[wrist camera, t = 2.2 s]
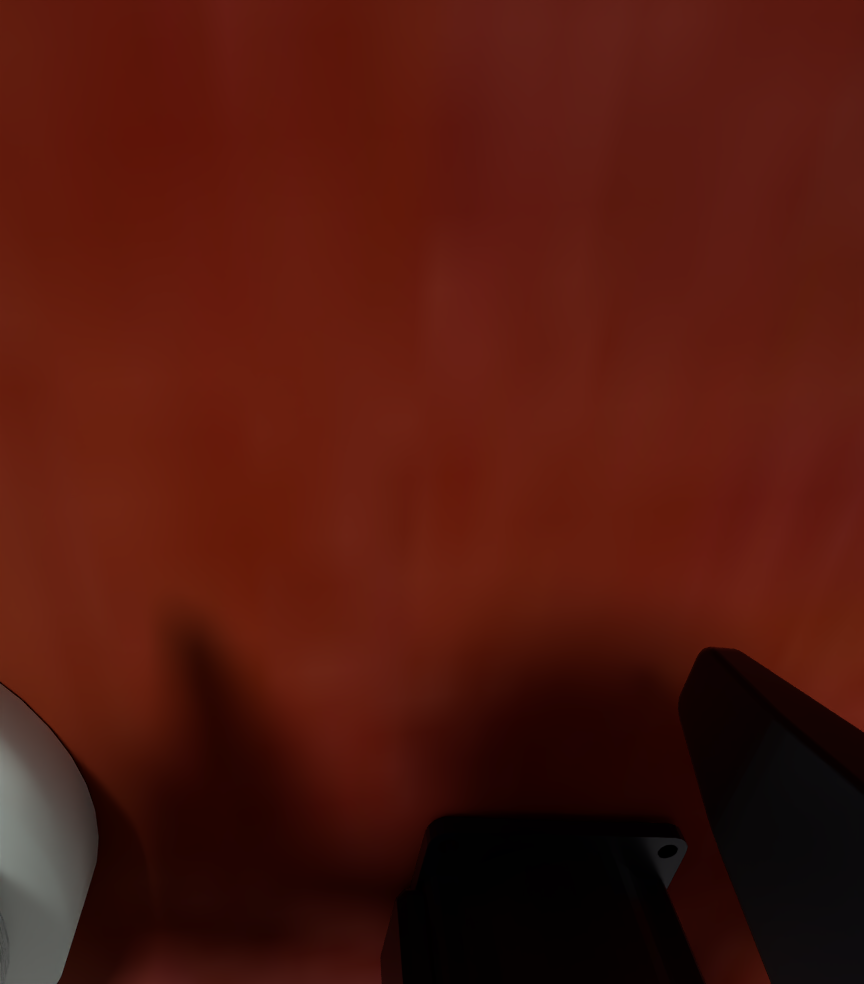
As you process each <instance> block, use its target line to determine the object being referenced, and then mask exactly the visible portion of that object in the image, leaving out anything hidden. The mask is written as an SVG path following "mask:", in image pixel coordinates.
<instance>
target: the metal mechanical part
mask: <svg viewBox="0 0 864 984" xmlns="http://www.w3.org/2000/svg"><path fill="white" fill-rule="evenodd" d="M8 968H9V938H8V934H7V930H6V926H5V922H4V918H3V916H2V914H1V912H0V984H5V980H6V976H7V972H8Z"/></svg>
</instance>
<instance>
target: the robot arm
mask: <svg viewBox="0 0 864 984" xmlns="http://www.w3.org/2000/svg"><path fill="white" fill-rule="evenodd" d="M678 712H679V718H680V722H681V725H682V729H683V732H684V736H685V739H686V743H687V746H688V750H689V753H690V757H691V761H692V764H693V768H694V771H695V775H696V778H697V782H698V785H699V789H700V792H701V796H702V799H703V803H704V806H705V810H706V813H707V817H708V820H709V823H710V826H711V829H712V832H713V835H714V838H715V841H716V843H717V846H718V849H719V852H720V854H721V857H722V859H723V862H724V864H725V867H726V869H727V872H728V875H729V877H730V880H731V882H732V885H733V887H734V890H735V892H736V895H737V897H738V900H739V903H740V905H741V908H742V910H743V913H744V915H745V918H746V920H747V923H748V926H749V928H750V931H751V933H752V936H753V938H754V941H755V943H756V946H757V948H758V951H759V954H760V956H761V959H762V961H763V964H764V966H765V969H766V971H767V974H768V976H769V979H770V982H771V984H864V732H862V731H861V730H859V729H858V728H856V727H855V726H853V725H852V724H850V723H849V722H847V721H846V720H844V719H843V718H841V717H840V716H838V715H837V714H835V713H833V712H832V711H830V710H829V709H827V708H826V707H824V706H823V705H821V704H820V703H818V702H817V701H815V700H814V699H812V698H811V697H809V696H808V695H806V694H805V693H803V692H802V691H800V690H799V689H797V688H796V687H794V686H793V685H791V684H790V683H788V682H787V681H785V680H783V679H782V678H780V677H779V676H777V675H776V674H774V673H773V672H771V671H770V670H768V669H767V668H765V667H764V666H762V665H761V664H759V663H758V662H756V661H755V660H753V659H752V658H750V657H749V656H747V655H746V654H744V653H743V652H741V651H739V650H736V649H730V648H717V647H708V648H705V649H703V650H702V651H701V652H700V653H699V655H698V656H697V658H696V661H695V663H694V665H693V667H692V670H691V672H690V674H689V676H688V678H687V681H686V683H685V685H684V687H683V690H682V692H681V694H680V697H679V702H678ZM687 847H688V846H687V844H686V842H685V839H684V837H683V835H682V833H681V831H680V829H679V827H677V826H676V825H673V824H667V823H634V822H601V821H567V820H534V819H501V818H468V817H446V818H441V819H438V820H435V821H434V822H432V823H431V824H430V825H429V826H428V827H427V829H426V831H425V835H424V838H423V842H422V846H421V849H420V853H419V856H418V860H417V864H416V867H415V871H414V874H413V878H412V882H411V885H410V889H404V890H403V891H402V893H401V894H400V895H399V896H398V897H397V898H396V900H395V904H394V908H393V912H392V915H391V919H390V923H389V927H388V930H387V934H386V938H385V942H384V946H383V949H382V953H381V977H382V984H706V983H705V981H704V978H703V976H702V973H701V971H700V969H699V966H698V964H697V961H696V959H695V957H694V954H693V952H692V949H691V947H690V945H689V942H688V940H687V937H686V935H685V932H684V930H683V928H682V925H681V923H680V920H679V918H678V916H677V913H676V911H675V908H674V906H673V904H672V901H671V899H670V896H669V894H668V892H667V888H668V886H669V884H670V882H671V880H672V878H673V876H674V874H675V872H676V871H677V869H678V867H679V865H680V863H681V861H682V859H683V857H684V855H685V853H686V851H687Z"/></svg>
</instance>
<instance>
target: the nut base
mask: <svg viewBox="0 0 864 984" xmlns="http://www.w3.org/2000/svg"><path fill="white" fill-rule="evenodd" d="M98 840H99V835H98V828H97V820H96V812H95V809H94V806H93V803H92V800H91V797H90V794H89V791H88V788H87V785H86V783H85V781H84V779H83V777H82V775H81V774H80V772H79V770H78V768H77V766H76V764H75V763H74V761H73V759H72V757H71V756H70V754H69V753H68V752H67V750H66V749H65V748H64V746H63V745H62V744H61V742H60V741H59V740H58V739H57V737H56V736H55V735H54V733H53V732H52V731H51V729H50V728H49V727H48V726H47V725H46V724H45V723H44V722H43V721H42V720H41V719H40V718H39V717H38V716H37V715H36V714H35V713H34V712H33V711H32V710H31V709H30V708H29V707H28V706H27V705H26V704H25V703H24V702H23V701H22V700H21V699H19V698H18V697H17V696H15V695H14V694H13V693H12V692H10V691H9V690H8V689H7V688H5V687H4V686H3V685H2V684H0V912H1V914H2V916H3V918H4V922H5V926H6V930H7V934H8V938H9V968H8V972H7V976H6V980H5V984H57V983H58V981H59V979H60V977H61V976H62V972H63V969H64V966H65V963H66V960H67V956H68V953H69V950H70V947H71V944H72V940H73V937H74V934H75V931H76V928H77V924H78V921H79V918H80V915H81V911H82V908H83V905H84V902H85V899H86V895H87V892H88V889H89V886H90V883H91V879H92V876H93V873H94V869H95V866H96V863H97V852H98Z"/></svg>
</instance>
